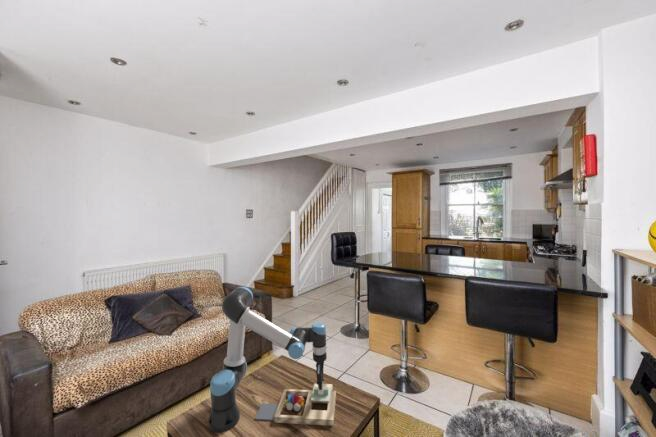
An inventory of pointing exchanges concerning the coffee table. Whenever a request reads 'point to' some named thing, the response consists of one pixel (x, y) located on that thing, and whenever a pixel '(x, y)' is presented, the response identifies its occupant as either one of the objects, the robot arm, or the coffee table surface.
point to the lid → (321, 398)
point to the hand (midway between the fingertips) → (320, 393)
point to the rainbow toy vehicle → (294, 402)
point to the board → (308, 409)
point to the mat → (266, 412)
